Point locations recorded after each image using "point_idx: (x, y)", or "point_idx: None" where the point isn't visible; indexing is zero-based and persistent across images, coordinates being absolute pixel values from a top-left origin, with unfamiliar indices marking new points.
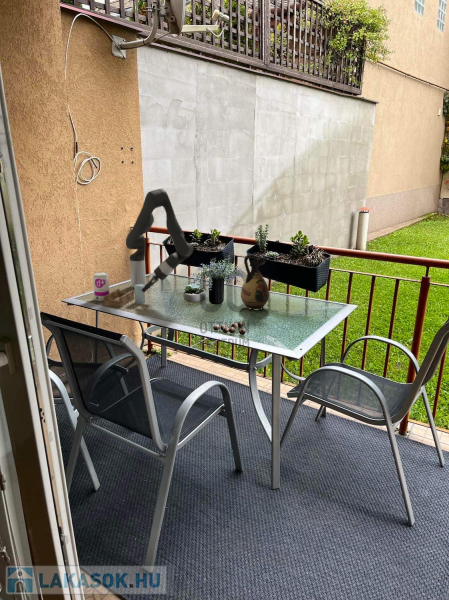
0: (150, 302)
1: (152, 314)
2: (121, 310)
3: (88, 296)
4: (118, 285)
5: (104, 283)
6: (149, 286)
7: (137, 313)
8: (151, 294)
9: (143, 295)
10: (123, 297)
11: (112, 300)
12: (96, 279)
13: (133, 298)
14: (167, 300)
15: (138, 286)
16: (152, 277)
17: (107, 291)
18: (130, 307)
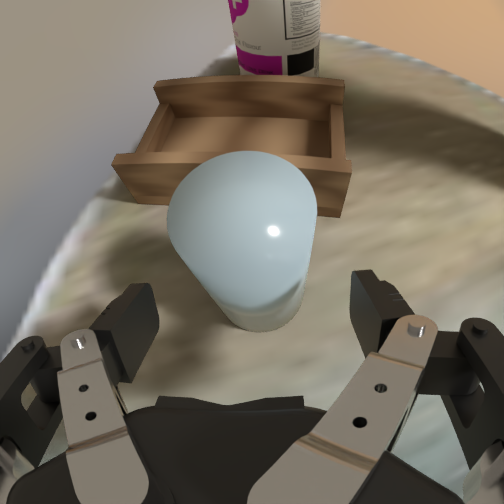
0: (274, 378)
1: None
2: (85, 227)
3: None
4: (497, 99)
5: (241, 7)
6: (44, 401)
7: (36, 335)
8: (478, 305)
9: (229, 310)
10: (151, 168)
11: (151, 130)
12: None
13: (328, 212)
14: None
15: (177, 215)
16: (80, 479)
17: (264, 57)
18: (134, 259)
